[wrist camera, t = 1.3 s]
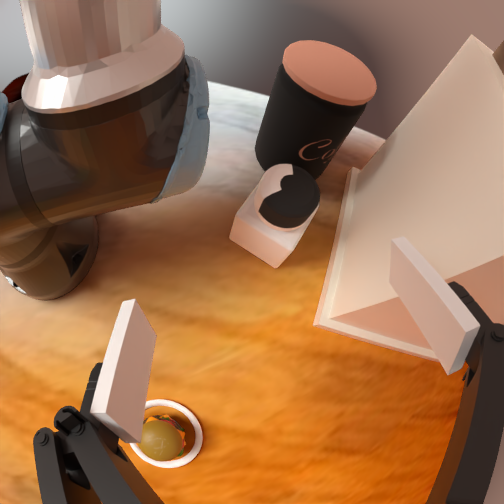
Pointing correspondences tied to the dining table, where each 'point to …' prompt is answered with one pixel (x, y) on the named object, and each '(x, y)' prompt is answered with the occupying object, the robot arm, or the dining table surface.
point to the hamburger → (166, 437)
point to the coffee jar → (312, 106)
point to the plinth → (425, 208)
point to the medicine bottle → (276, 213)
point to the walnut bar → (499, 56)
